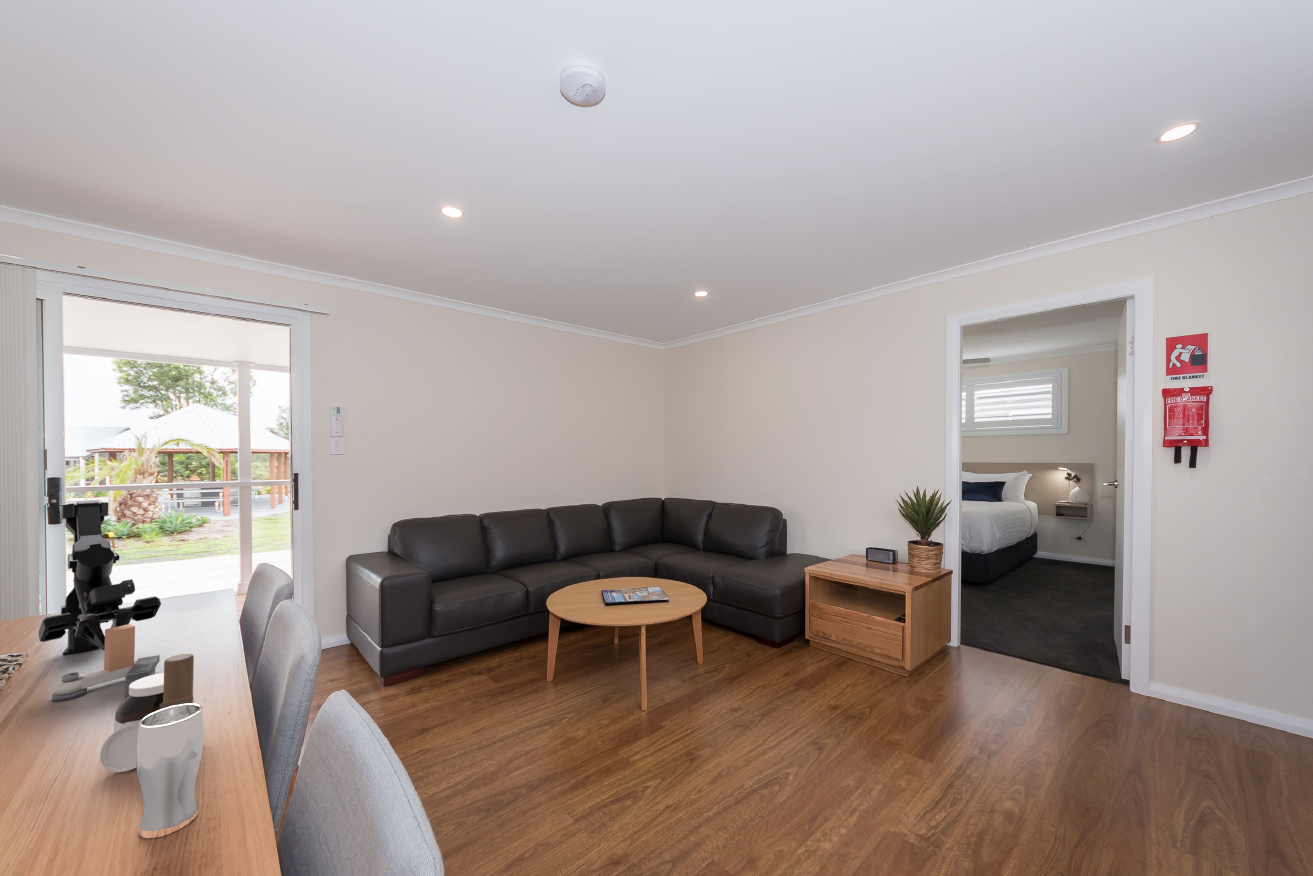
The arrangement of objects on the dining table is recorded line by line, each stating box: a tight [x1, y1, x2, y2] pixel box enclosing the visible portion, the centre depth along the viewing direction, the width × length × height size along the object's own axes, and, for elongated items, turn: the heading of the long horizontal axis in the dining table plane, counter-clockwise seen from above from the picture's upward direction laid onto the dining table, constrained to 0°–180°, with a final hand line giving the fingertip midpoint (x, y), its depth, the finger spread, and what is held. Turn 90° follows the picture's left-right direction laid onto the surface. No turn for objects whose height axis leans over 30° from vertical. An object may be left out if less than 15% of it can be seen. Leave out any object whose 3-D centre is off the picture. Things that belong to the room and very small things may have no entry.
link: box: [55, 623, 137, 695], centre depth 115 cm, size 15×4×11 cm, turn 152°
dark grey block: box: [124, 654, 161, 700], centre depth 114 cm, size 4×11×5 cm, turn 35°
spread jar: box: [99, 672, 195, 773], centre depth 90 cm, size 12×11×12 cm
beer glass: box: [135, 703, 205, 831], centre depth 73 cm, size 7×7×15 cm
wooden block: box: [160, 653, 195, 710], centre depth 83 cm, size 4×11×18 cm, turn 41°
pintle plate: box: [51, 672, 89, 703], centre depth 110 cm, size 5×5×4 cm
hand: (112, 648), depth 117 cm, fingers closed, pressing on link
